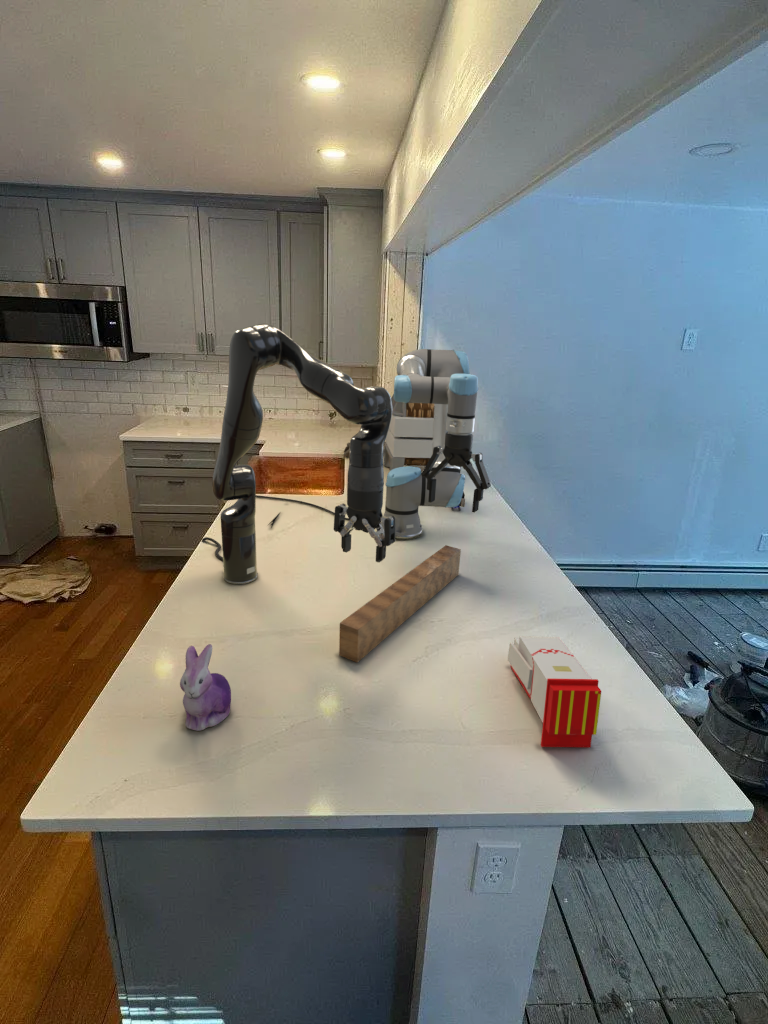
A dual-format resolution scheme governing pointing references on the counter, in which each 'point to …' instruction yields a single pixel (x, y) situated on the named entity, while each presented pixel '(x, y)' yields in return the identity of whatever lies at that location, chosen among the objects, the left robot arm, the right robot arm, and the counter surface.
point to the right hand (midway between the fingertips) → (452, 506)
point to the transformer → (409, 435)
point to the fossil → (347, 450)
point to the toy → (557, 690)
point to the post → (396, 604)
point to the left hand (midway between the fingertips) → (363, 556)
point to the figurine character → (461, 502)
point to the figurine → (204, 691)
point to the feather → (273, 520)
